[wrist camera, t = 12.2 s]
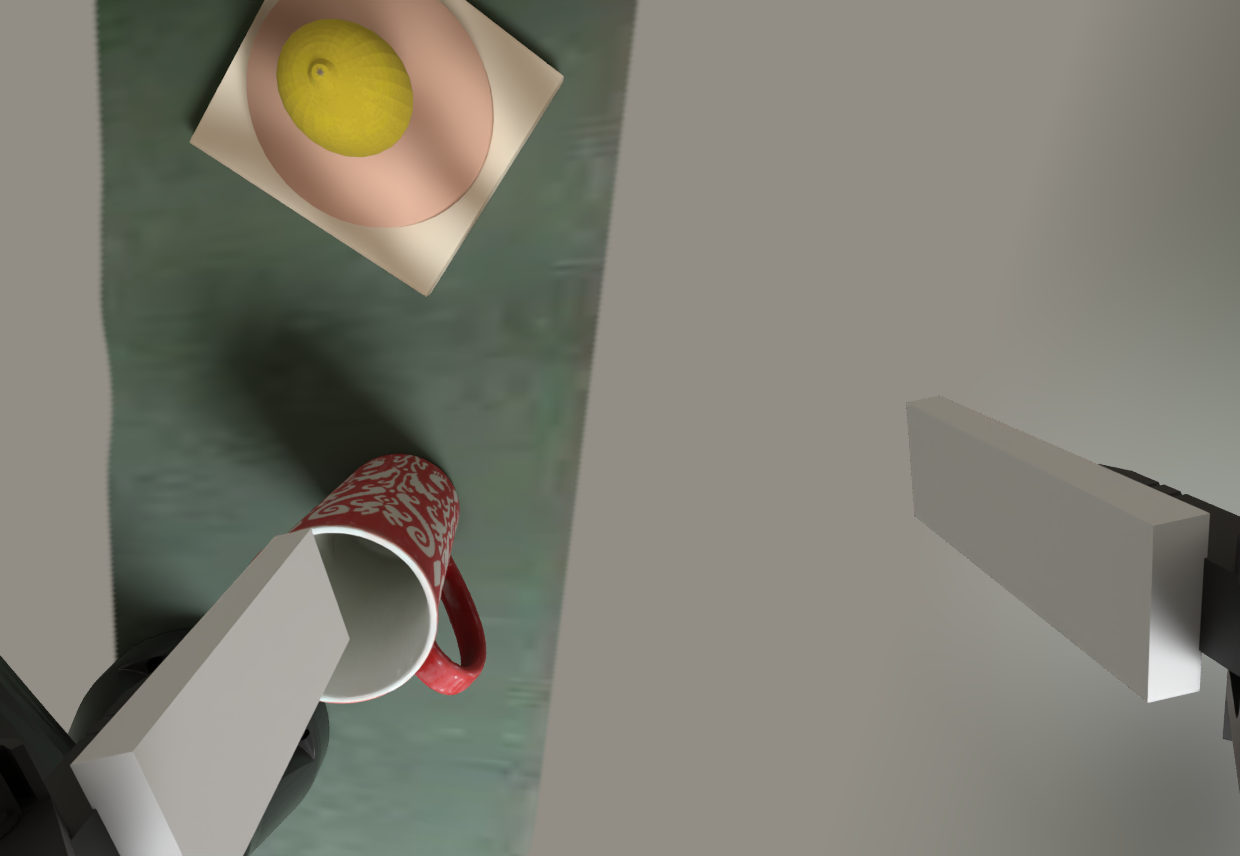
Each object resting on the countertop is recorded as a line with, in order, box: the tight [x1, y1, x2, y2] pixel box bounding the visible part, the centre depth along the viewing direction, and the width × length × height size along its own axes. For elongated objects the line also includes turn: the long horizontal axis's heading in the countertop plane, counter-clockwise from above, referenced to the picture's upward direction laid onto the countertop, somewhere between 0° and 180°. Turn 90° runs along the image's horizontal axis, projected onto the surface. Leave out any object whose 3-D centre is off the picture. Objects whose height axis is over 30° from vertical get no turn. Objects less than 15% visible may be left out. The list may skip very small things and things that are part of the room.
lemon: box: [276, 19, 413, 157], centre depth 32 cm, size 6×6×8 cm
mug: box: [249, 454, 486, 703], centre depth 39 cm, size 13×9×14 cm
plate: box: [190, 0, 564, 296], centre depth 37 cm, size 14×14×3 cm
